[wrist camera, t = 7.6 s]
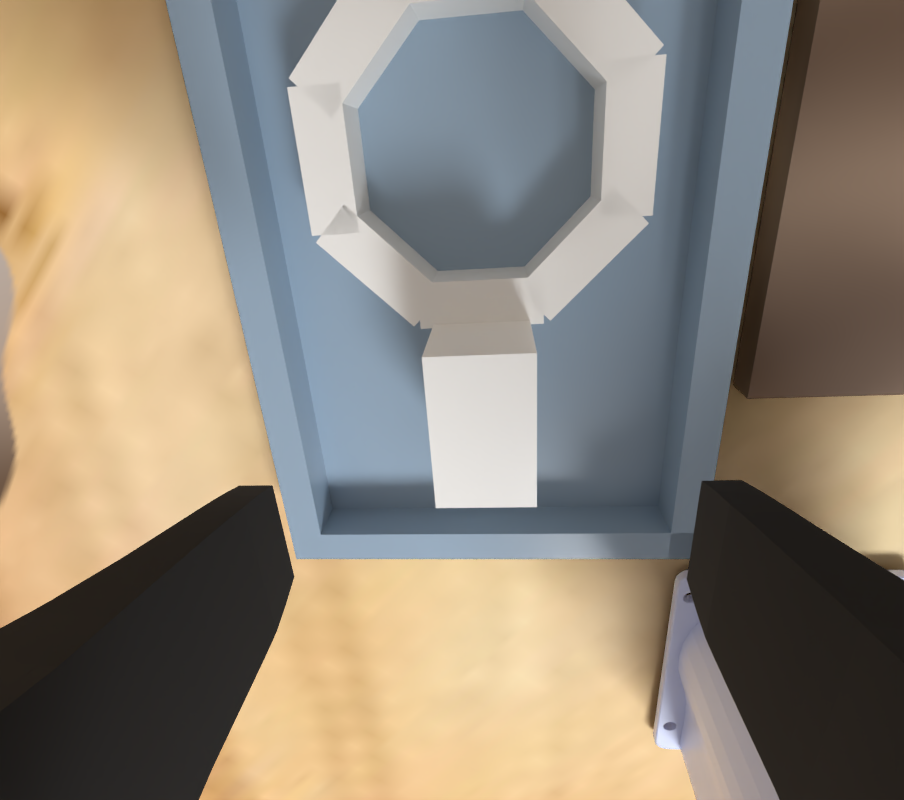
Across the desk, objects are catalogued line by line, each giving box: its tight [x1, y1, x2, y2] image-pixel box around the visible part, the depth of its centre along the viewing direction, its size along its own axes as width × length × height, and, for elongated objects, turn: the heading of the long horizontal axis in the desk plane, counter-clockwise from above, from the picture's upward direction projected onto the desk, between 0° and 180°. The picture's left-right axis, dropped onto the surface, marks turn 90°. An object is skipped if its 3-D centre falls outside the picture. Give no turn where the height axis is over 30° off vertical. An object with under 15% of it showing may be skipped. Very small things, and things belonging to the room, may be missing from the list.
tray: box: [166, 0, 794, 559], centre depth 14 cm, size 20×13×2 cm, turn 4°
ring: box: [287, 0, 667, 508], centre depth 12 cm, size 12×8×4 cm
